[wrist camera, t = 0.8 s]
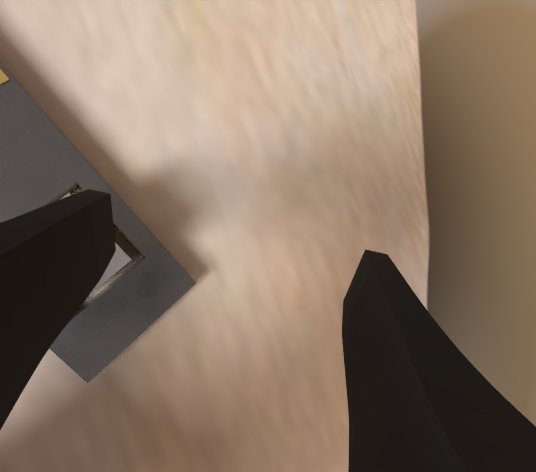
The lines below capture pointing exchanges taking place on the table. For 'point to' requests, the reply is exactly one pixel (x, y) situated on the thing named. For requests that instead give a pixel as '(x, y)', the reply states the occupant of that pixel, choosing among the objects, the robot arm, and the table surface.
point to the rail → (153, 252)
